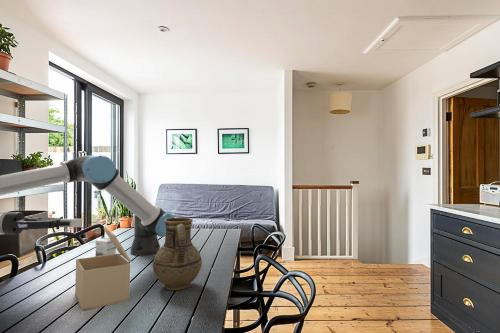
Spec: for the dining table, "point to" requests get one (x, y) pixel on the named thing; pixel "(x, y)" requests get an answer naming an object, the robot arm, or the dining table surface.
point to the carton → (102, 281)
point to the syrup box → (104, 247)
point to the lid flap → (117, 244)
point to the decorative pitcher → (177, 256)
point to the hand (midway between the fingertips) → (81, 222)
